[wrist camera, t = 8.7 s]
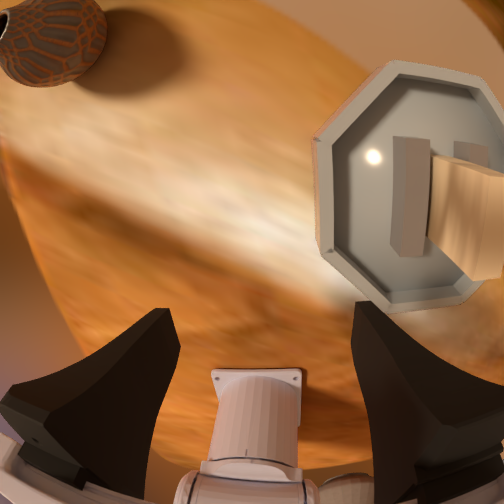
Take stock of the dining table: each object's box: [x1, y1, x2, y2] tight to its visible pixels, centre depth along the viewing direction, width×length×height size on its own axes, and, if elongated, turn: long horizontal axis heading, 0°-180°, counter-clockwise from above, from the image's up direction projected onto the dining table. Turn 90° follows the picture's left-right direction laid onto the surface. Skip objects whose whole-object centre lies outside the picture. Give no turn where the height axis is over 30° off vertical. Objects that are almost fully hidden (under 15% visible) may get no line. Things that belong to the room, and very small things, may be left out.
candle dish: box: [311, 60, 504, 314], centre depth 16 cm, size 16×16×3 cm
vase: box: [0, 0, 107, 87], centre depth 11 cm, size 7×7×9 cm
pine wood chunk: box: [425, 154, 504, 281], centre depth 13 cm, size 5×2×7 cm, turn 5°
